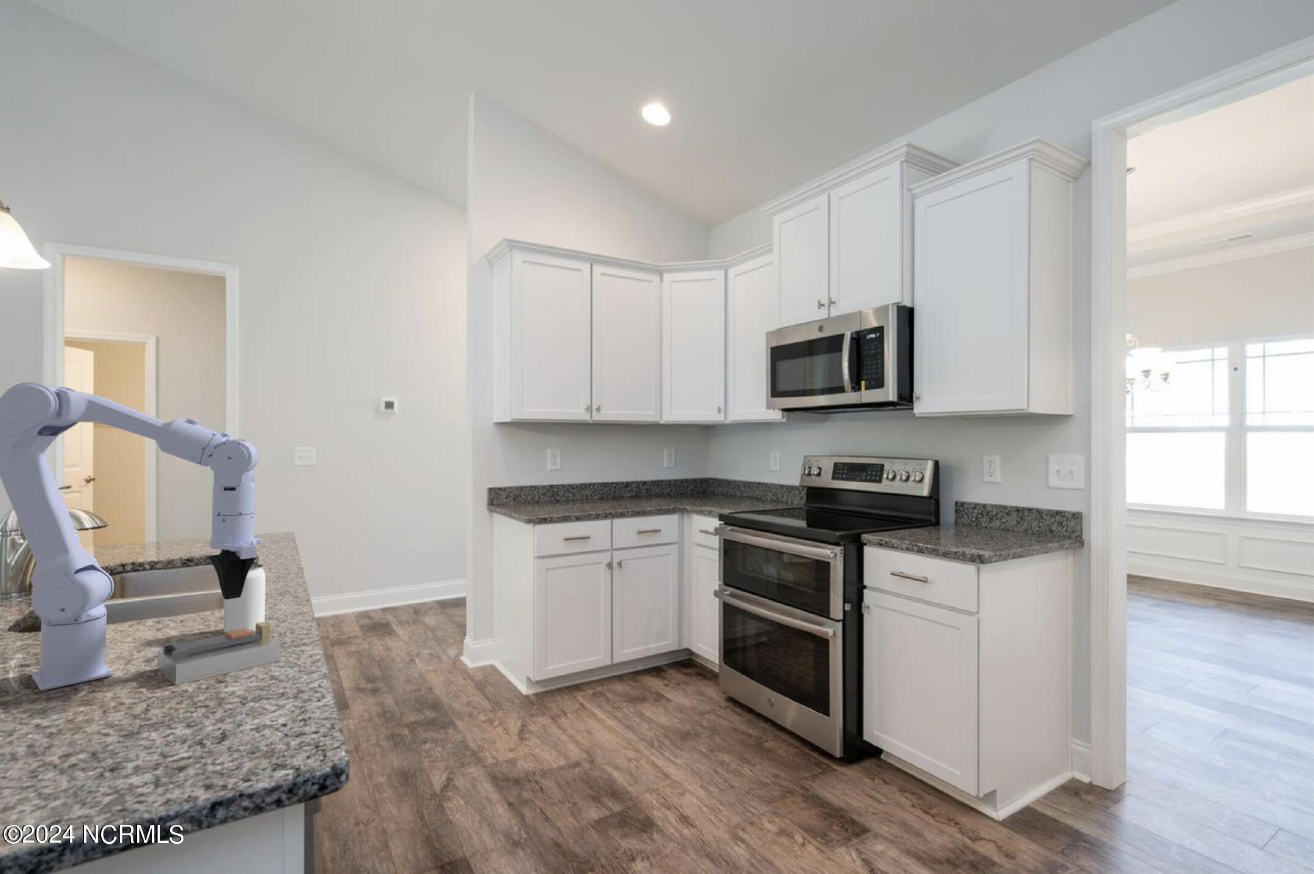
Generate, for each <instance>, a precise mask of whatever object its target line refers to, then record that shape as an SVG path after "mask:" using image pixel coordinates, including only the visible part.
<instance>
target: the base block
mask: <svg viewBox="0 0 1314 874" xmlns="http://www.w3.org/2000/svg"><path fill="white" fill-rule="evenodd" d="M255 632H257V633H259V634H261V639H260V640H255V641H250V642H245V643H240V644H235V645H230V646H225V647H220V648H215V649H210V650H205V651H200V652H195V653H190V654H187V650H186V649H183V650H178V651H172V650H171V645H173V644H178V643H177V642H170V643H165V644H162V649H157V661H156V662H157V664H156V670H157V671H159V672H160V673H161V674H162V673H163V674H162V675H163V676H164V675H165V676H164V677H165V678H167V679H168V680H169V681H170V682H171V683H172V684H174V685H175V686H178V685H184V684H187V683H192V682H195V681H199V680H204V679H208V678H212V677H216V676H220V675H226V674H228V673H229V674H230V673H233V672H237V671H243V670H246V669H251V668H254V667H259V666H263V665H267V664H268V665H269V664H272V663H275V662H280V661H282V641H280V640H278V639H276V638H274V637H272V636H271V624H269V623H267V622H266V621H265V622H259V623H256V631H255ZM271 662H272V663H271Z"/></svg>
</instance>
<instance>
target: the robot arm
mask: <svg viewBox="0 0 1314 874" xmlns="http://www.w3.org/2000/svg"><path fill="white" fill-rule="evenodd" d="M79 423H101V424H103V425H107V426H110V427H114V428H117V429H120V430H123V431H125V432H129V433H132V434H135V435H138V436H141V437H144V438H147V439H151V440H153V441H155V443H156V445H157V446H158V448H159V450H160V451H161V452H162V453H165V454H167V455H171V456H174V457H176V458H179V459H182V460H185V461H187V462H191V463H194V464H197V465H199V466H202V467H209V469H210V470H211V471H212V472H213V486H212V502H211V503H212V509H211V511H212V512H211V513H212V514H211V539H210V540H211V541H210V542H209V548H210V549H212V550H221V551H220V552H219V554H213V555H208V560H209V561H210V563H211V564H212V566H213V568H214V571H215V573H216V575H217V578H218V582H219V587H220V592H221V595H222V598H223V600H224V599H226V600H227V599H233V598H240V597H241V594H242V591H243V587H244V584H245V580H246V577H247V574H248V572H249V569H250V567H251V565H252V564H254V562H255V560H256V559H257V544H262V543H263V539H262V538H260V537H255V515H256V503H255V502H256V485H255V479H256V476H255V470H254V469H255V468H256V466H258V464H259V461H260V454H259V451H258V450H257V448H256V447H255V446H254V445H253V444H252V443H250V442H248V441H247V440H246V439H241V438H237V439H232V440H231V436H232V435H231V433H229V432H227V431H223V432H222V433H220V432H218V431H215V430H212V429H210V428H208V427H207V428H206V427H205V426H201V425H200V421H199V420H197V419H195V418H194V419H193V418H187V419H183V418H176V419H173V420H171V421H167V422H166V421H164V420H162V419H159V418H156V417H154V416H151V415H149V414H147V413H144V412H142V411H138V410H137V409H134V408H131V407H129V406H126V405H124V404H121V403H119V402H117V401H114V400H111V399H109V398H106V397H103V396H100V395H96V394H92V393H88V392H84V391H77V390H75V389H73V388H69V387H65V386H52V385H46V384H42V383H38V382H34V381H33V382H31V381H30V382H28V381H27V382H26V381H25V382H21V383H17V384H15V385H13V386H11V387H9V388H8V389H7V390H6V391H5V392H4V393H3V394H2V395H1V396H0V480H1V482H2V485H3V487H4V490H5V492H6V494H7V497H8V499H9V501H10V504H11V506H12V509H13V511H14V513H15V515H16V518H17V520H18V523H19V526H20V528H21V530H22V532H23V535H24V536H25V539H26V542H27V544H28V547H29V548H30V552H31V553H32V556H33V559H34V561H35V563H36V564H35V567H34V570H33V571H32V575H31V578H30V582H31V585H32V588H33V596H32V600H31V606H32V610H33V612H34V613H35V615H36V616H37V617H38V618H40V622H41V623H40V650H39V651H40V654H39V655H40V656H39V657H40V660H39V661H40V663H39V666H40V667H39V670H35V671H33V672H31V673H30V676H31V678H32V679H33V681H34V682H35V684H36V686H37V688H38V689H39V691H45V690H46V691H47V690H51V689H57V688H61V687H65V686H70V685H75V684H79V683H84V682H88V681H93V680H97V679H103V678H108V677H111V676H113V675H114V671H113V670H112V669H111V668H110V667H109V666H108V665H107V664H106V659H107V658H106V657H107V656H106V654H107V613H108V612H107V609H106V606H105V604H106V602H107V601H108V600H109V599H111V597H112V595H113V593H114V590H115V583H114V580H113V578H112V576H111V575H110V574H109V573H108V572H107V571H105V570H104V569H102V568H101V566H100V565H99V563H98V561H97V558H96V557H95V556H93V555H92V554H91V553H90V552H88V551H87V550H85V549H84V548H83V544H82V542H81V539H80V538H79V537H80V536H79V535H78V532H77V530H76V527H75V525H74V523H73V520H72V517H71V516H70V513H69V510H68V508H67V506H66V503H65V501H64V498H63V495H62V493H61V491H60V488H59V485H58V483H57V481H56V479H55V476H54V473H53V471H52V469H51V467H50V464H49V461H48V460H47V457H46V454H45V453H46V450H47V449H48V448H49V447H50V446H51V445H52V443H53V442H54V441H55V440H56V439H57V437H58V436H60V435H62V434H64V433H65V432H67V431H68V430H70V429H72V428H73V427H75V426H77V425H78V424H79Z"/></svg>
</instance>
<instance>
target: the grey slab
mask: <svg viewBox="0 0 1314 874" xmlns="http://www.w3.org/2000/svg"><path fill="white" fill-rule="evenodd" d="M224 633H225V634H222V635H217V636H211V637H205V638H201V639H194V640H188V641H185V642H178V643H177V644H173V645H171V650H172V651H178V650H183V649H186V650H187V654H190V653H195V652H200V651H205V650H210V649H215V648H220V647H225V646H230V645H235V644H240V643H245V642H250V641H255V640H260V639H261V634H259V633H257V632H255V631H253V630H249V629H247V628H243V629H238V630H232V631H227V632H224Z"/></svg>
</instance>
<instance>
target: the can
mask: <svg viewBox="0 0 1314 874" xmlns="http://www.w3.org/2000/svg"><path fill="white" fill-rule="evenodd" d="M263 567H264V565H263V564H259V563H253V564H252V565H251V567H250V569H249V572H248V574H247V577H246V580H245V584H244V587H243V591H242V594H241V597H240V598H233V599H227V600H226V599H224V598H223V603H224V604H223V632H224V633H225V632H227V631H232V630H238V629H243V628H247V629H249V630H253V631H256V623H259V622H266V621H265V620H266V617H265V616H266V615H265V613H266V572H265V569H264V568H263Z"/></svg>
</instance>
